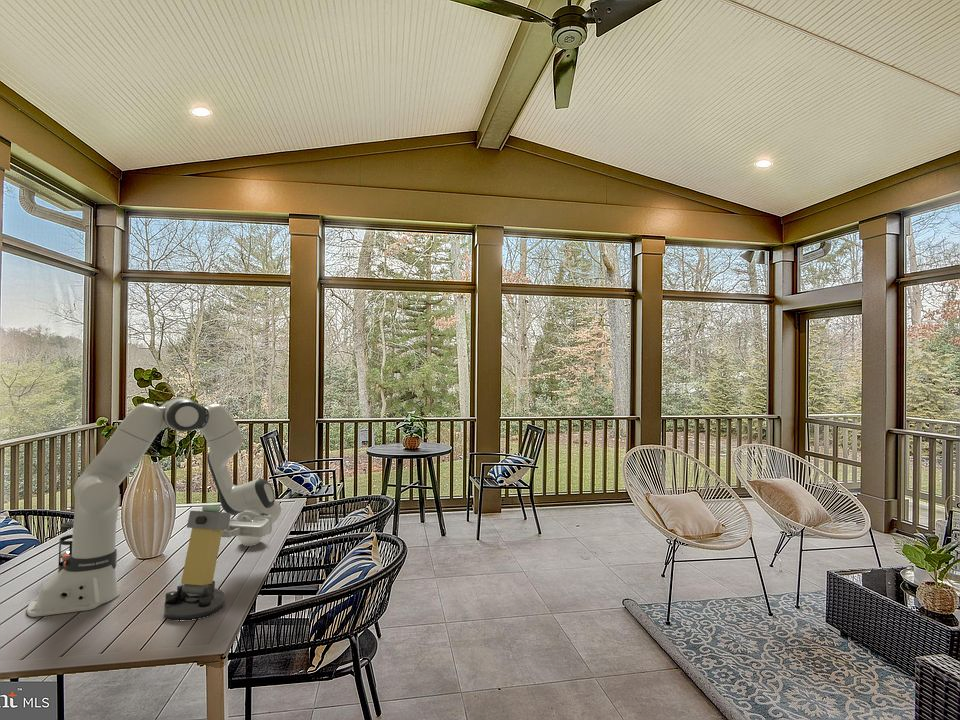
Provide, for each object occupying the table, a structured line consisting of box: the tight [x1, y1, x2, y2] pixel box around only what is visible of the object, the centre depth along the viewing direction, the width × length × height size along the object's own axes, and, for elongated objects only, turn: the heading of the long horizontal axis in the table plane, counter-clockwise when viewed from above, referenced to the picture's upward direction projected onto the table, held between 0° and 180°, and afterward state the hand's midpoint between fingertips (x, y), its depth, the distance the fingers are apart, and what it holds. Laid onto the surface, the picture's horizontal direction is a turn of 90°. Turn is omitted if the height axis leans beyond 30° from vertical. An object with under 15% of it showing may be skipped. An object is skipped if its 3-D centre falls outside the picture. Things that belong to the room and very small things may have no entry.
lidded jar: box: [236, 536, 263, 547], centre depth 218 cm, size 11×11×9 cm
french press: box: [57, 505, 75, 573], centre depth 186 cm, size 12×9×23 cm
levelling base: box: [163, 580, 225, 622], centre depth 159 cm, size 16×16×7 cm
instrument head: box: [180, 504, 232, 595], centre depth 161 cm, size 8×10×26 cm
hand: (225, 535), depth 173 cm, fingers closed
